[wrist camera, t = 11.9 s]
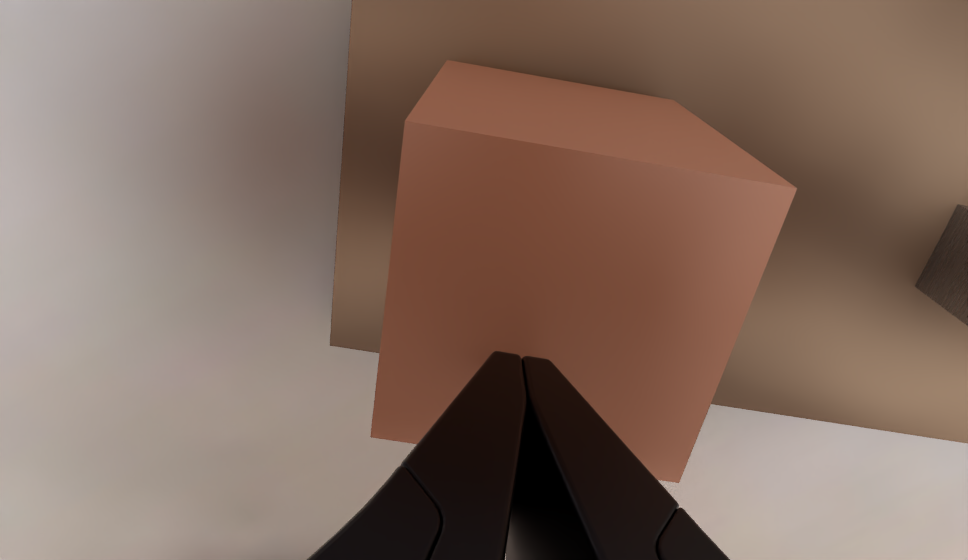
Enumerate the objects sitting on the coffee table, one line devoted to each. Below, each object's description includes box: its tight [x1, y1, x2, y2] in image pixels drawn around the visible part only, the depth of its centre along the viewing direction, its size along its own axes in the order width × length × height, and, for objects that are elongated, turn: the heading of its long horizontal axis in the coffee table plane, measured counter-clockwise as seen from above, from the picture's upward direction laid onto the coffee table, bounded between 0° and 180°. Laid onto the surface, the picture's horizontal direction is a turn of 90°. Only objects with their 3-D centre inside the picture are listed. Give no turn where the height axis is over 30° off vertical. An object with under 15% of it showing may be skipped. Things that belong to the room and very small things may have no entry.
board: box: [330, 0, 968, 443], centre depth 17 cm, size 12×22×1 cm, turn 81°
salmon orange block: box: [371, 60, 797, 483], centre depth 12 cm, size 5×5×7 cm
